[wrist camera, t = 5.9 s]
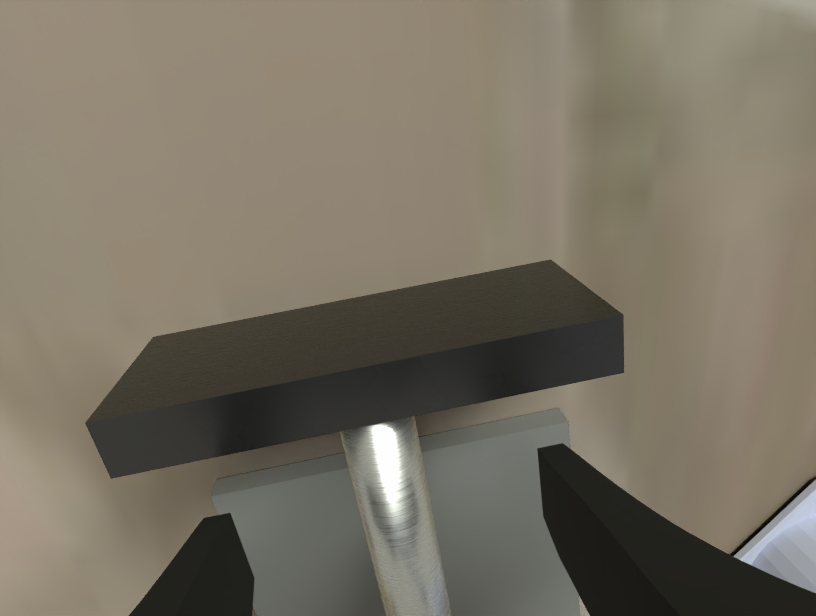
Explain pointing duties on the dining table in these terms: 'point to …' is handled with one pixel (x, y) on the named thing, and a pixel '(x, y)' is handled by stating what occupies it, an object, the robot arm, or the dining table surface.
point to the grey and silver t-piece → (362, 392)
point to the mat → (453, 516)
